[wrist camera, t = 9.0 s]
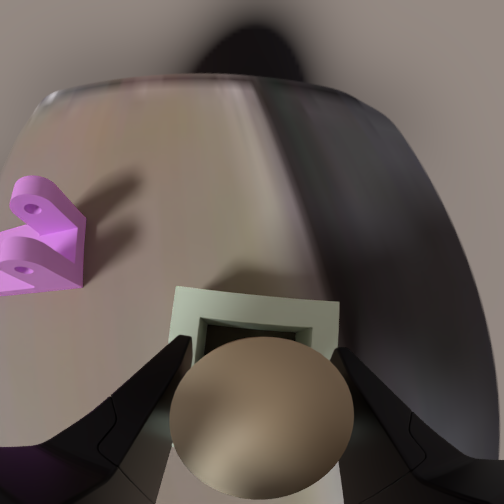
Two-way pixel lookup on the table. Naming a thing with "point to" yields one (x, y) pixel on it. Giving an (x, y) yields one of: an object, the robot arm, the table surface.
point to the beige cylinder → (261, 417)
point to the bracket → (42, 240)
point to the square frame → (253, 317)
